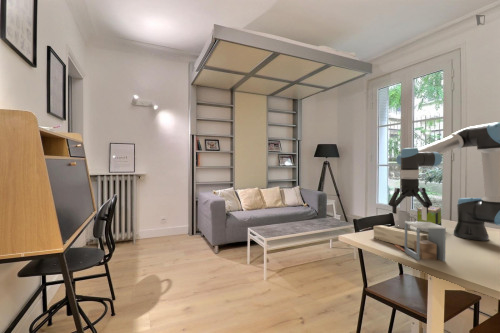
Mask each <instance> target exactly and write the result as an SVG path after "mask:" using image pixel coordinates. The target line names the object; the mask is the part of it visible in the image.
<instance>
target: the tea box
mask: <svg viewBox="0 0 500 333" xmlns="http://www.w3.org/2000/svg"><path fill="white" fill-rule="evenodd" d="M422 207H424V206H423V205H422V206H421V207H418V208H417V210H416V211H417V212H416V213H417V216H416V217H417V218H416V222H431V223H434V224H437V225H440V226H443V225H442V207H438V206H430V207H429V208H428V214H427V221H425V220H422ZM421 231H422V232H427V233H428V228H420V232H421Z"/></svg>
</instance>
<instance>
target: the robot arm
mask: <svg viewBox="0 0 500 333" xmlns="http://www.w3.org/2000/svg"><path fill="white" fill-rule="evenodd" d="M470 147H471V148H472V147H476V149H477V151H478V152H480V153H481V162H482V164H481V165H482V176H483V178H482V179H483V189H484V190H483V191H484V196H483V197H460V198H458V199H457V206H456V208H457V210H456V211H457V222H456V225H455V226H454V229H453V236H456V237H458V238H461V239H467V240H474V241H489V240H488V239H489V237H490V235H489V234H488V232H487V228H486V226H485V225H486V224H485V223H487V224H491V225H496V226H500V121H498V122H490V123H484V124H478V125H472V126H468V127H464V128H462V129H460V130H457V131H455V132H453V133H450V134H449V135H448V136H447V137H444V138H442V139H440V140H436V141H434V142H432V143H430V144H427V145H424V146H421V147H420V148H418V147H405V148H401V150H400V153H399V154H398V155H397V156H396V158H395V161H396V163H397V165H398V166H400V177H401V179H400V186H401V187H400V188H399V187H394V192H393V194H392V196H391V198H390V200H389V202H388V203H387V205H388V206H389V207H392V214H393V219H394V220H397V221H399V214H398V211H399V207H398V206H399V205H400V204H401V203H402V202H403V201H404V199H406V198H408V197H413V198H415V199H417V201H418V202H419V203H420V204H421V205H422V206H421V207H422V220H425V221H427V214H428V208H429V207H433V203H432V201H431V199H430V197H429V196H428V194H427V190H426V188H425V187H422V186H421V187H419V186H420V183H419V182H420V179H419V177H420V174H419V173H420V167H438V166H439V165H441V163H442V162H443V157H442V154H444V153H447V152H451V151H453V150H459V149H460V150H461V149H462V148H470ZM419 192H420V193H419ZM423 206H424V207H423Z"/></svg>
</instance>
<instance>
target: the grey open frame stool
mask: <svg viewBox="0 0 500 333" xmlns="http://www.w3.org/2000/svg"><path fill="white" fill-rule="evenodd" d="M407 224H409V225H410V226H411V227H414V228H416V232H417V253H415V252H414V249H412V248H409V247H407V231H408V229H407ZM420 228H428V232H427V235H428V241H431V242H433V243H435V244H437V256H436V259H437V260H440V261H442V262H446V233H447V232H446V231H447V230H446V228H447V227H445V226H443V225H442V226H440V225H437V224H434V223H431V222H417V221H416V222H414V221H410V222H407V221H405V229H404V230H405V246H401V245H397V244H394V246H395V247H396V248H397V249H399V250H400V251H402V252H404V253H406V254H407V255H408V256H410V257H411V258H413V259H414V260H416V261H419V262H420V261H421V260H420V259H421V258H420V233H421V230H420Z"/></svg>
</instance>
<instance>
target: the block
mask: <svg viewBox="0 0 500 333" xmlns="http://www.w3.org/2000/svg"><path fill="white" fill-rule="evenodd" d="M414 252H415V253H417V240H414ZM436 256H437V244H435V243H433V242H431V241H428V240H420V259H421V260H431V261H432V260H434V261H435V260H436V261H437V258H436Z"/></svg>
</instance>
